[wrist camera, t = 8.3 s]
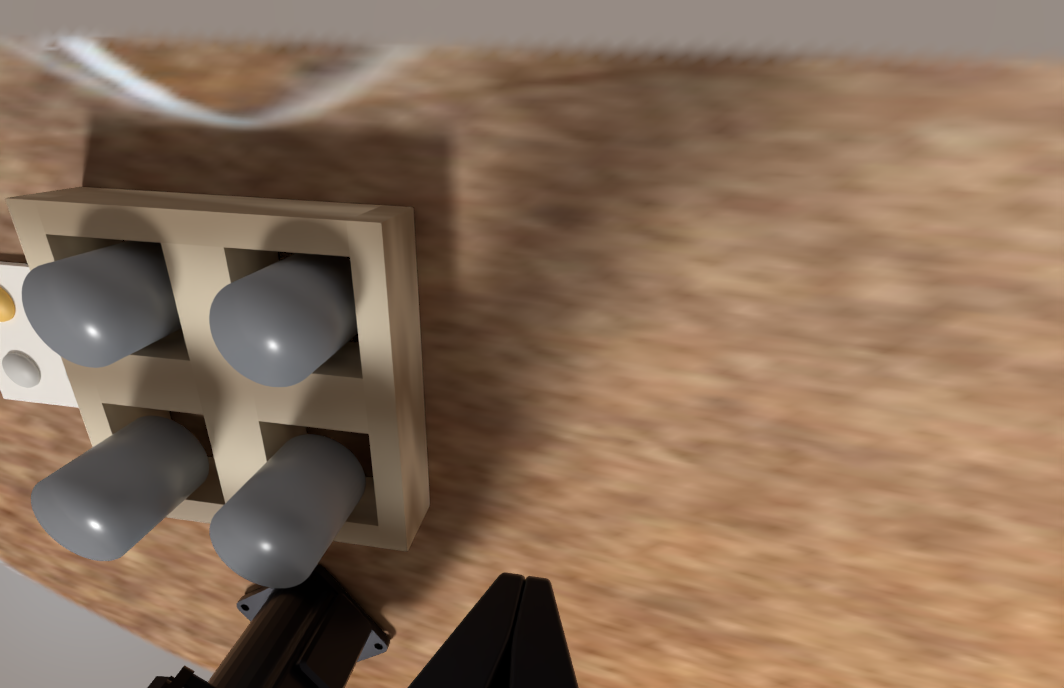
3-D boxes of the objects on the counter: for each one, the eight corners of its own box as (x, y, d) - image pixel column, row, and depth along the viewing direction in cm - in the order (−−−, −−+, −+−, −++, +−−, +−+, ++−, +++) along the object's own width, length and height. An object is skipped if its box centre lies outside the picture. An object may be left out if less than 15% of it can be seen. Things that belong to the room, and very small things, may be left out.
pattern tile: (138, 409, 26) (128, 415, 26) (12, 394, 27) (0, 400, 27) (95, 269, 23) (83, 272, 23) (-44, 257, 24) (-58, 260, 24)
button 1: (376, 344, 22) (326, 392, 18) (288, 335, 22) (221, 381, 19) (367, 251, 20) (311, 284, 17) (273, 244, 21) (197, 274, 17)
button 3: (369, 515, 23) (320, 595, 19) (285, 504, 23) (221, 580, 20) (360, 439, 21) (306, 510, 18) (271, 429, 22) (199, 495, 18)
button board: (430, 504, 26) (407, 551, 23) (164, 470, 28) (114, 509, 25) (413, 207, 20) (381, 222, 18) (80, 186, 22) (4, 198, 19)
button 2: (217, 328, 23) (138, 372, 19) (135, 321, 23) (43, 362, 20) (197, 239, 21) (107, 267, 18) (110, 232, 22) (5, 259, 18)
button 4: (217, 495, 24) (142, 567, 20) (138, 484, 24) (51, 553, 20) (198, 420, 22) (113, 484, 18) (115, 410, 23) (16, 470, 19)
